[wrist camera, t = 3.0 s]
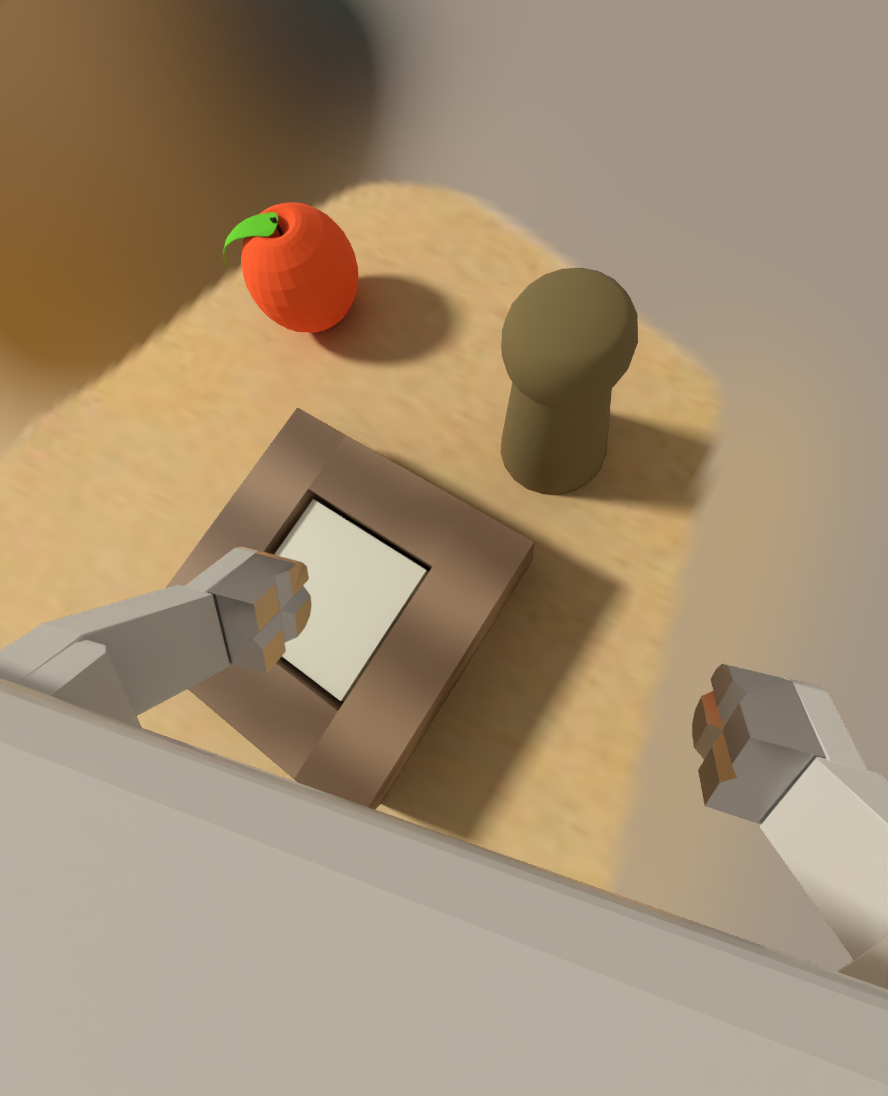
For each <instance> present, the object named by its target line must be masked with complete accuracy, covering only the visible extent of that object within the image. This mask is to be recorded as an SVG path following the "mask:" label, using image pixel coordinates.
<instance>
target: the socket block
mask: <svg viewBox="0 0 888 1096" xmlns="http://www.w3.org/2000/svg"><path fill="white" fill-rule="evenodd" d="M313 499H314V500H315V501H317V502H319V503H320V504H322V505H323V506H325V507H327V508H328V509H330V510H331V511H333V512H335V513H338V514H340V515H342V516H343V517H345V518H346V519H348V520H350V521H351V522H353V523H354V524H356V525H358V526H359V527H361V528H362V529H364V530H366V531H367V532H369V533H370V534H372V535H374V536H375V537H377V538H378V539H380V540H381V541H383V542H385V543H386V544H388V545H389V546H391V547H393V548H394V549H396V550H397V551H399V552H401V553H402V554H404V555H405V556H407V557H409V558H410V559H412V560H413V561H415V562H417V563H418V564H420V565H421V566H423V567H424V568H426V569H428V570H429V573H428V574H427V576H426V577H425V579H424V580H423V582H422V583H421V585H420V586H419V588H418V590H417V591H416V593H415V594H414V596H413V597H412V599H411V600H410V602H409V603H408V605H407V606H406V608H405V609H404V611H403V612H402V614H401V616H400V617H399V619H398V620H397V622H396V623H395V625H394V626H393V628H392V629H391V631H390V632H389V634H388V635H387V637H386V639H385V640H384V642H383V643H382V645H381V646H380V648H379V649H378V651H377V652H376V654H375V655H374V657H373V658H372V660H371V662H370V663H369V665H368V666H367V668H366V669H365V671H364V672H363V674H362V675H361V677H360V678H359V680H358V681H357V683H356V685H355V686H354V688H353V689H352V691H351V692H350V694H349V695H348V697H347V698H346V700H344V701H340V700H339V699H337V698H336V697H335V696H333V695H332V694H331V693H330V692H328V691H327V690H326V689H324V688H323V687H322V686H320V685H319V684H318V683H316V682H315V681H314V680H313V679H311V678H310V677H309V676H307V675H306V674H305V673H303V672H302V671H301V670H299V669H298V668H297V667H295V666H294V665H293V664H292V663H290V662H289V661H288V660H286V659H285V658H284V657H281V658H280V659H279V660H278V661H277V663H276V664H275V665H274V666H273V667H272V669H271V670H270V671H269V672H268V673H267V674H266V673H262V672H258V671H255V670H251V669H247V668H244V667H240V666H236V665H232V664H230V666H229V667H227V668H226V669H224V670H222V671H220V672H218V673H216V674H214V675H212V676H211V677H209V678H207V679H205V680H203V681H201V682H199V683H197V684H196V685H194V686H192V687H190V688H188V690H190V691H191V692H192V693H193V694H194V695H196V696H197V697H198V698H199V699H200V700H201V701H203V702H204V703H205V704H206V705H207V706H208V707H210V708H211V709H212V710H213V711H214V712H216V713H217V714H218V715H219V716H220V717H221V718H223V719H224V720H225V721H226V722H227V723H229V724H230V725H231V726H232V727H233V728H234V729H236V730H237V731H238V732H239V733H240V734H241V735H243V736H244V737H245V738H246V739H247V740H249V741H250V742H251V743H252V744H253V745H254V746H256V747H257V748H258V749H259V750H260V751H261V752H263V753H264V754H265V755H266V756H267V757H269V758H270V759H271V760H272V761H273V762H274V763H276V764H277V765H278V766H279V767H280V768H282V769H283V770H284V771H285V772H286V773H287V774H289V775H290V776H291V777H292V778H293V779H294V780H296V781H297V782H298V783H300V784H303V785H306V786H309V787H312V788H314V789H317V790H320V791H323V792H326V793H329V794H332V795H334V796H337V797H340V798H343V799H346V800H349V801H351V802H354V803H357V804H360V805H363V806H366V807H369V808H371V809H374V810H375V809H376V808H377V807H378V806H379V805H380V804H381V803H382V801H383V799H384V798H385V796H386V795H387V793H388V791H389V790H390V788H391V787H392V785H393V783H394V782H395V780H396V778H397V777H398V775H399V774H400V772H401V770H402V769H403V767H404V766H405V764H406V762H407V761H408V759H409V758H410V756H411V754H412V753H413V751H414V750H415V748H416V746H417V745H418V743H419V742H420V740H421V738H422V737H423V735H424V734H425V732H426V730H427V729H428V727H429V726H430V724H431V722H432V721H433V719H434V717H435V716H436V714H437V713H438V711H439V709H440V708H441V706H442V705H443V703H444V701H445V700H446V698H447V697H448V695H449V693H450V692H451V690H452V689H453V687H454V685H455V684H456V682H457V681H458V679H459V677H460V676H461V674H462V673H463V671H464V669H465V668H466V666H467V665H468V663H469V661H470V660H471V658H472V656H473V655H474V653H475V652H476V650H477V648H478V647H479V645H480V644H481V642H482V640H483V639H484V637H485V636H486V634H487V632H488V631H489V629H490V628H491V626H492V624H493V623H494V621H495V620H496V618H497V616H498V615H499V613H500V612H501V610H502V608H503V607H504V605H505V603H506V602H507V600H508V599H509V597H510V595H511V594H512V592H513V591H514V589H515V587H516V586H517V584H518V583H519V581H520V579H521V578H522V576H523V575H524V573H525V571H526V570H527V568H528V567H529V565H530V563H531V562H532V559H533V549H534V541H532V540H530V539H528V538H526V537H525V536H523V535H521V534H519V533H518V532H516V531H514V530H512V529H511V528H509V527H507V526H505V525H504V524H502V523H500V522H498V521H497V520H495V519H493V518H491V517H489V516H488V515H486V514H484V513H482V512H481V511H479V510H477V509H475V508H474V507H472V506H470V505H468V504H467V503H465V502H463V501H461V500H460V499H458V498H456V497H454V496H452V495H451V494H449V493H447V492H445V491H444V490H442V489H440V488H438V487H437V486H435V485H433V484H431V483H430V482H428V481H426V480H424V479H422V478H421V477H419V476H417V475H415V474H414V473H412V472H410V471H408V470H407V469H405V468H403V467H401V466H400V465H398V464H396V463H394V462H393V461H391V460H389V459H387V458H385V457H384V456H382V455H380V454H378V453H377V452H375V451H373V450H371V449H370V448H368V447H366V446H364V445H363V444H361V443H359V442H357V441H356V440H354V439H352V438H350V437H348V436H347V435H345V434H343V433H341V432H340V431H338V430H336V429H334V428H333V427H331V426H329V425H327V424H326V423H324V422H322V421H320V420H318V419H317V418H315V417H313V416H311V415H310V414H308V413H306V412H304V411H303V410H301V409H299V408H297V409H296V410H295V412H294V413H293V414H292V416H291V417H290V418H289V420H288V421H287V422H286V424H285V425H284V427H283V428H282V429H281V431H280V432H279V433H278V435H277V436H276V438H275V439H274V440H273V442H272V443H271V444H270V446H269V447H268V449H267V450H266V451H265V453H264V454H263V455H262V457H261V458H260V459H259V461H258V462H257V464H256V465H255V466H254V468H253V469H252V470H251V472H250V473H249V475H248V476H247V477H246V479H245V480H244V481H243V483H242V484H241V485H240V487H239V488H238V490H237V491H236V492H235V494H234V495H233V496H232V498H231V499H230V501H229V502H228V503H227V505H226V506H225V507H224V509H223V510H222V511H221V513H220V514H219V516H218V517H217V518H216V520H215V521H214V522H213V524H212V525H211V527H210V528H209V529H208V531H207V532H206V533H205V535H204V536H203V538H202V539H201V540H200V542H199V543H198V544H197V546H196V547H195V548H194V550H193V551H192V553H191V554H190V555H189V557H188V558H187V559H186V561H185V562H184V564H183V565H182V566H181V568H180V569H179V570H178V572H177V573H176V574H175V576H174V577H173V579H172V580H171V581H170V583H169V584H168V585H167V587H166V588H168V587H171V586H175V585H180V586H185V585H186V584H188V583H189V582H190V581H192V580H193V579H194V578H196V577H197V576H198V575H199V574H201V573H202V572H203V571H205V570H206V569H207V568H209V567H210V566H211V565H213V564H214V563H215V562H217V561H218V560H219V559H221V558H222V557H223V556H225V555H226V554H227V553H229V552H230V551H231V550H233V549H234V548H237V547H246V548H249V549H253V550H257V551H260V552H266V553H270V554H273V555H274V554H275V553H276V551H277V550H278V548H279V547H280V546H281V544H282V543H283V541H284V540H285V539H286V537H287V536H288V534H289V533H290V531H291V530H292V529H293V527H294V526H295V524H296V523H297V522H298V520H299V519H300V517H301V516H302V514H303V513H304V512H305V510H306V509H307V507H308V506H309V504H310V503H311V502H312V500H313Z"/></svg>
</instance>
